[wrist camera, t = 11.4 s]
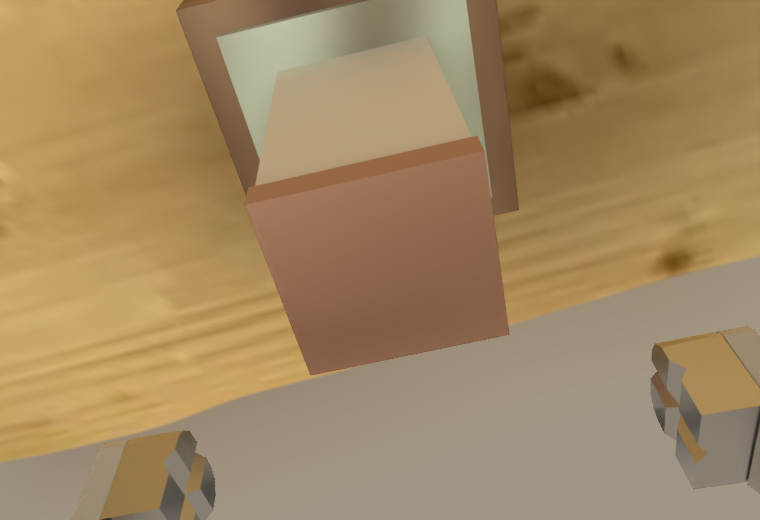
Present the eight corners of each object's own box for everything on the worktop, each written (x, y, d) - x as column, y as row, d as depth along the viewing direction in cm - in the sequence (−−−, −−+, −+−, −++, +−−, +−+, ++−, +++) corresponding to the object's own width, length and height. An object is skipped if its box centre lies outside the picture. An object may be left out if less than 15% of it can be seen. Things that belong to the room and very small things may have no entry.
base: (466, -84, 23) (491, -66, 20) (496, 164, 29) (520, 213, 25) (197, -16, 24) (173, 13, 20) (278, 213, 29) (271, 268, 26)
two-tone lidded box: (428, 32, 21) (484, 150, 14) (452, 172, 24) (509, 334, 16) (273, 68, 21) (244, 205, 14) (315, 203, 24) (310, 375, 17)
